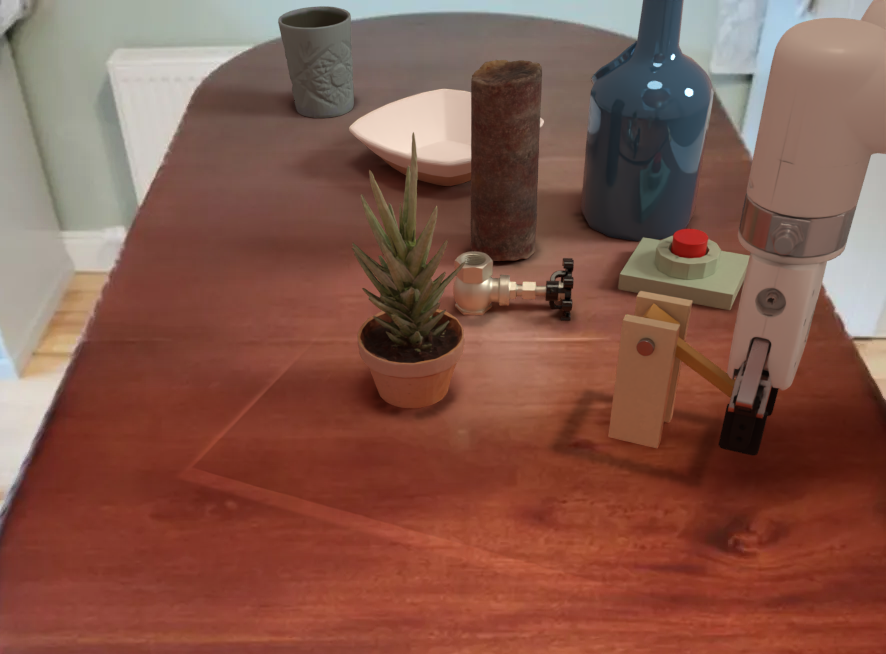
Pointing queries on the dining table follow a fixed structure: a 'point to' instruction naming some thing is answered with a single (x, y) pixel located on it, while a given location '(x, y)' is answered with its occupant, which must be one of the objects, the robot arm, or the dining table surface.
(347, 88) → the grey embossed cup
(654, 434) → the bracket
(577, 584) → the dining table surface
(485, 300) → the valve
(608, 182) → the wine bottle
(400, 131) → the bowl
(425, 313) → the potted plant
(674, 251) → the button
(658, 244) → the button block
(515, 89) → the brown textured cylinder
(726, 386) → the lever
